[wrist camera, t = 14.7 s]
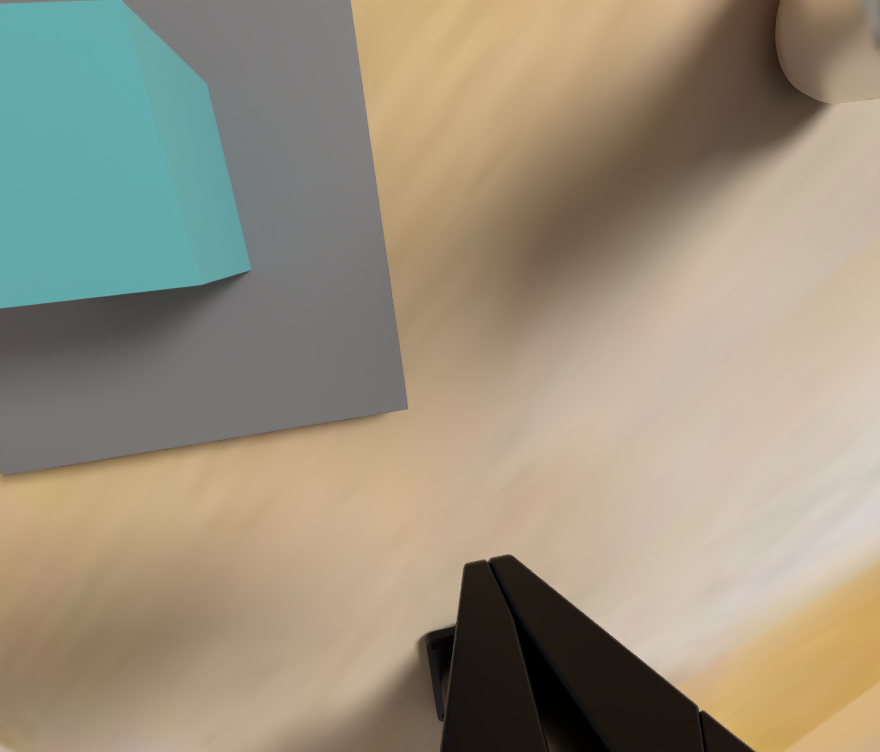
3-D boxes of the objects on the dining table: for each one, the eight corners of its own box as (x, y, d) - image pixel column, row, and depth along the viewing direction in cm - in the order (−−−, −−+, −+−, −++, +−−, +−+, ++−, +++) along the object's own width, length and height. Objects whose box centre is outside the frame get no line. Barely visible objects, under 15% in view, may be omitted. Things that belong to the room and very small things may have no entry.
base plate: (404, 396, 19) (408, 408, 18) (32, 456, 17) (2, 475, 16) (327, -147, 13) (323, -192, 12) (-252, -147, 11) (-339, -201, 10)
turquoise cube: (251, 269, 15) (200, 284, 10) (77, 289, 14) (-63, 315, 10) (207, 84, 13) (120, -1, 8) (4, 96, 12) (-212, 10, 8)
